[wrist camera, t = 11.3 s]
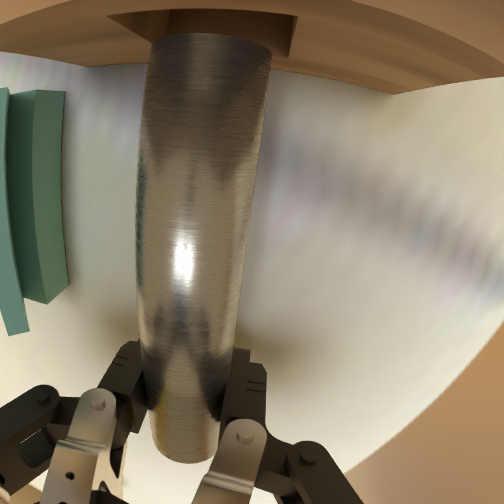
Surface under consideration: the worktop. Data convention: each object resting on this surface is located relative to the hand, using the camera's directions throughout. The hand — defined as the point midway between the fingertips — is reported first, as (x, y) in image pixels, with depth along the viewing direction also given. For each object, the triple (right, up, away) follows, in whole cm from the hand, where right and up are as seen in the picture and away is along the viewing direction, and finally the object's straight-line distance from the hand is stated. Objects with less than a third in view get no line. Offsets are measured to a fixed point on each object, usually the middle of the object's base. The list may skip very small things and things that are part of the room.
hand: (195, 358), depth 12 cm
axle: (0, +3, -3) cm, 4 cm away
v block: (-9, +7, 0) cm, 12 cm away
